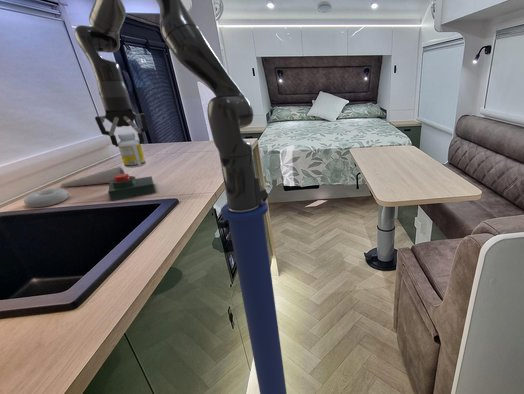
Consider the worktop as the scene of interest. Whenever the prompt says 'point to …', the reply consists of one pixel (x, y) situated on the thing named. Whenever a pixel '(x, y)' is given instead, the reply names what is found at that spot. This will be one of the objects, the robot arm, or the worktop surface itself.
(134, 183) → the control block
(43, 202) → the donut
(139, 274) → the worktop surface
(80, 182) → the long tapered cone
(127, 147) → the pill bottle
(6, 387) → the worktop surface
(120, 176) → the button
